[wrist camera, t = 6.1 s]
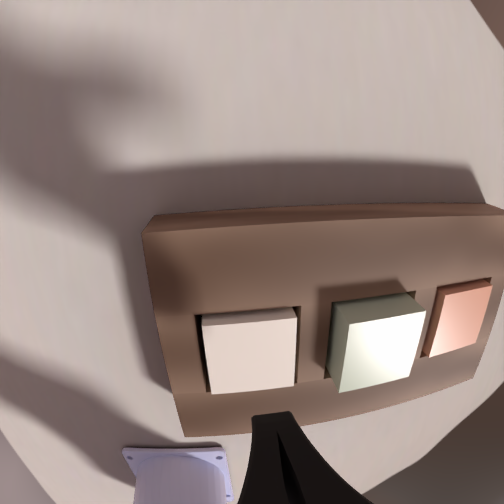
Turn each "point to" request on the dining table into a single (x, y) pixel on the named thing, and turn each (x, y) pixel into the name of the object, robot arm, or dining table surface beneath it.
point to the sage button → (373, 340)
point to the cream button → (250, 349)
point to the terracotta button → (456, 316)
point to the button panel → (313, 295)
